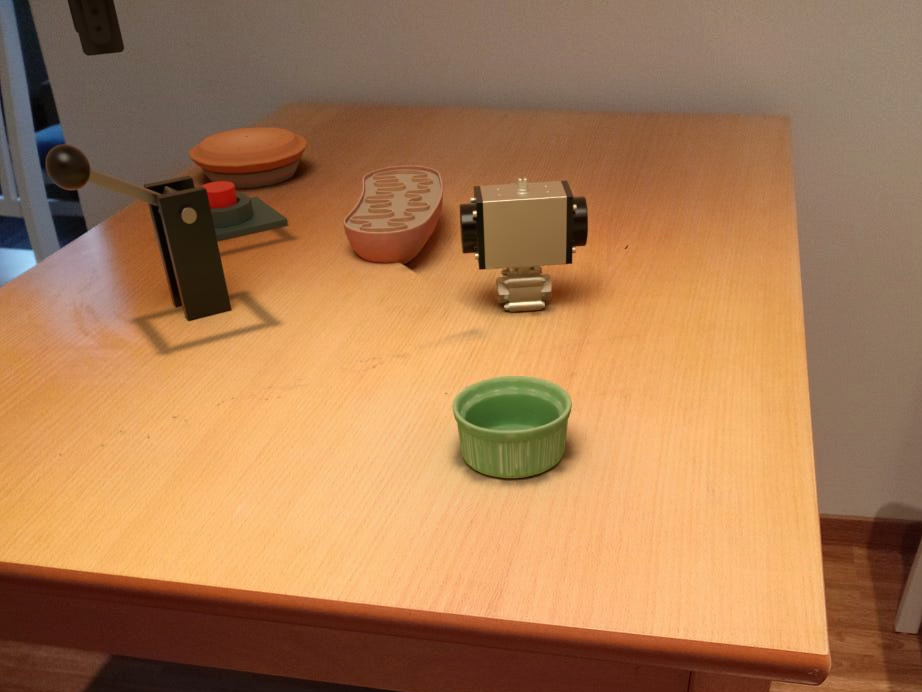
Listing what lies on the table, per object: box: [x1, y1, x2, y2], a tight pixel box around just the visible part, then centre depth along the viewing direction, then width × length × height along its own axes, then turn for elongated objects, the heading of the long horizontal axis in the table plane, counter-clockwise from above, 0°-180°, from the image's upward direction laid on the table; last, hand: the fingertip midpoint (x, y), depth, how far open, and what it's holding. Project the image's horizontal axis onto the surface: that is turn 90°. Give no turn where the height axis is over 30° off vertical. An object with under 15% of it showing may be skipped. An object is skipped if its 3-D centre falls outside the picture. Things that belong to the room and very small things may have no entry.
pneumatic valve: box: [459, 176, 589, 313], centre depth 97 cm, size 6×12×12 cm, turn 93°
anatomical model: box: [342, 164, 444, 265], centre depth 114 cm, size 23×10×5 cm, turn 177°
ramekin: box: [452, 375, 573, 479], centre depth 78 cm, size 9×9×4 cm
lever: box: [45, 143, 178, 213], centre depth 90 cm, size 13×4×4 cm, turn 120°
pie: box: [188, 126, 308, 190], centre depth 135 cm, size 15×16×5 cm
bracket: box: [143, 175, 233, 322], centre depth 97 cm, size 11×9×13 cm
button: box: [200, 181, 238, 209], centre depth 116 cm, size 4×4×2 cm
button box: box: [211, 191, 289, 242], centre depth 118 cm, size 12×10×4 cm
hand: (99, 41), depth 85 cm, fingers open, 9 cm apart
